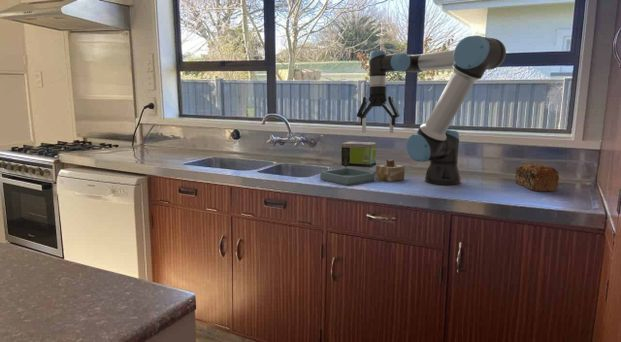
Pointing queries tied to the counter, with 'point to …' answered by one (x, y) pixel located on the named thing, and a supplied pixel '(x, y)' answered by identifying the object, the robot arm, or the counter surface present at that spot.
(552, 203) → the counter surface
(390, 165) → the post
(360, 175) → the tray
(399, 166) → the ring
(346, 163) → the tea box
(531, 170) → the bread
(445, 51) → the robot arm
